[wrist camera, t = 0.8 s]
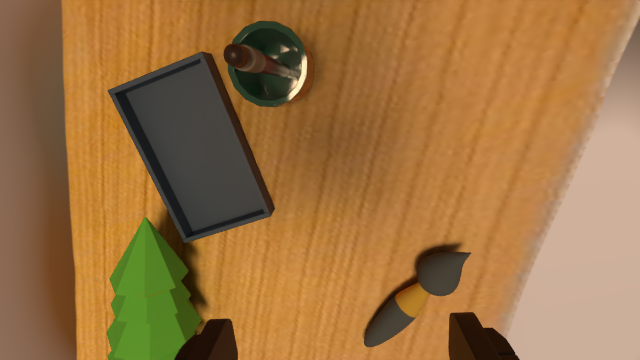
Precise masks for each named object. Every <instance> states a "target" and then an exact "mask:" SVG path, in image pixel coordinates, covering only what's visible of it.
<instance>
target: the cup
mask: <svg viewBox="0 0 640 360" xmlns="http://www.w3.org/2000/svg"><path fill="white" fill-rule="evenodd" d="M232 43H236V44H239V45H248V46H250V47H252V48H254V49H257V50H259V51H260V52H262V53H263V54H264V55H267V56H269V57H271V58H273V59H276V60H278V61H280V62H283V63H285V64H287V65H288V66H289V69H290V72H289V74H288V76H286V77H279V76H274V75H268V74H263V73H250V72H244V71H240V70H238V69H237V68H236V67H232V66H230V65H229V64H228V73H229V75H230V78H231V80H232V82H233V85H234V87H235V89H236V90H237V91H238V92H239V93H240V94H241V95H242V96H243V97H244V98H245V99H246V100H248V101H250V102H252V103H254V104H256V105H258V106H265V107H277V106H280V105H284V104H287V103H290V102H293V101H296V100H299V99H301V98H302V97H303V96H304V95H305V94H306V93H307V92H308V91H309V90H310V88H311V86H312V84H313V82H314V78H315V63H314V59H313V57H312V55H311V52H310V51H309V50H308V49H307V47H306V46H305V45H304V44H303V43H302V41H301V40H300V39H299V38H298V37H297V36H296V34H295V33H294V32H293V31H292V30H291V29H290V28H288V27H286V26H284V25H282V24H280V23H278V22H273V21H258V22H256V23H253V24H251V25H248V26H246V27H245V28H243V29H242V30H241V32H240V33H239V34H238V35H237V36H236V37H235V38H234V39H233V41H232Z"/></svg>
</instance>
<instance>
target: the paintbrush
mask: <svg viewBox="0 0 640 360" xmlns="http://www.w3.org/2000/svg"><path fill="white" fill-rule="evenodd" d="M470 254H471V253H465V252H440V253H435V254H432V255H429V256H427V257H425V258H424V259H423V260H422V261H421V262H420V264H419V266H418V269H417V277H418V281H419V282H418V283H416V284H414V285H412V286H410V287H408V288H406V289H404V290H403V291H401V292H399V293H398V294H396V295H395V296H394V297H393V298H392V299H391V300H390V301H389V302H388V303H387V304H386V305H385V306H384V307H383V309H382V310H381V311H380V312H379V314H378V315H377V316H376V318H375V319H374V321H373V322H372V324H371V325H370V327H369V329H368V331H367V333H366V336H365V339H364V345H365V346H366V347H374V346H377V345H379V344H381V343H383V342H385V341H387V340H389V339H390V338H392V337H394V336H395V335H396V334H398V333H399V332H401V331H402V330H403V329H404V328H406V327H407V326H408V325H409V324H410V323H411V322H412V321H413V320H414V319H415V318H416V317H417V316H418V314H419V312H420V311H421V309H422V307H423V306H424V304H425V302H426V300H427V298H428V296H429V294H432V295H436V296H446V295H449V294H451V293H452V292H453V291H454V290H455V289H456V288H457V286H458V284H459V281H460V277H461V272H462V267H463V264H464V262H465V260H466V259H467V258H468V257H469V255H470Z"/></svg>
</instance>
